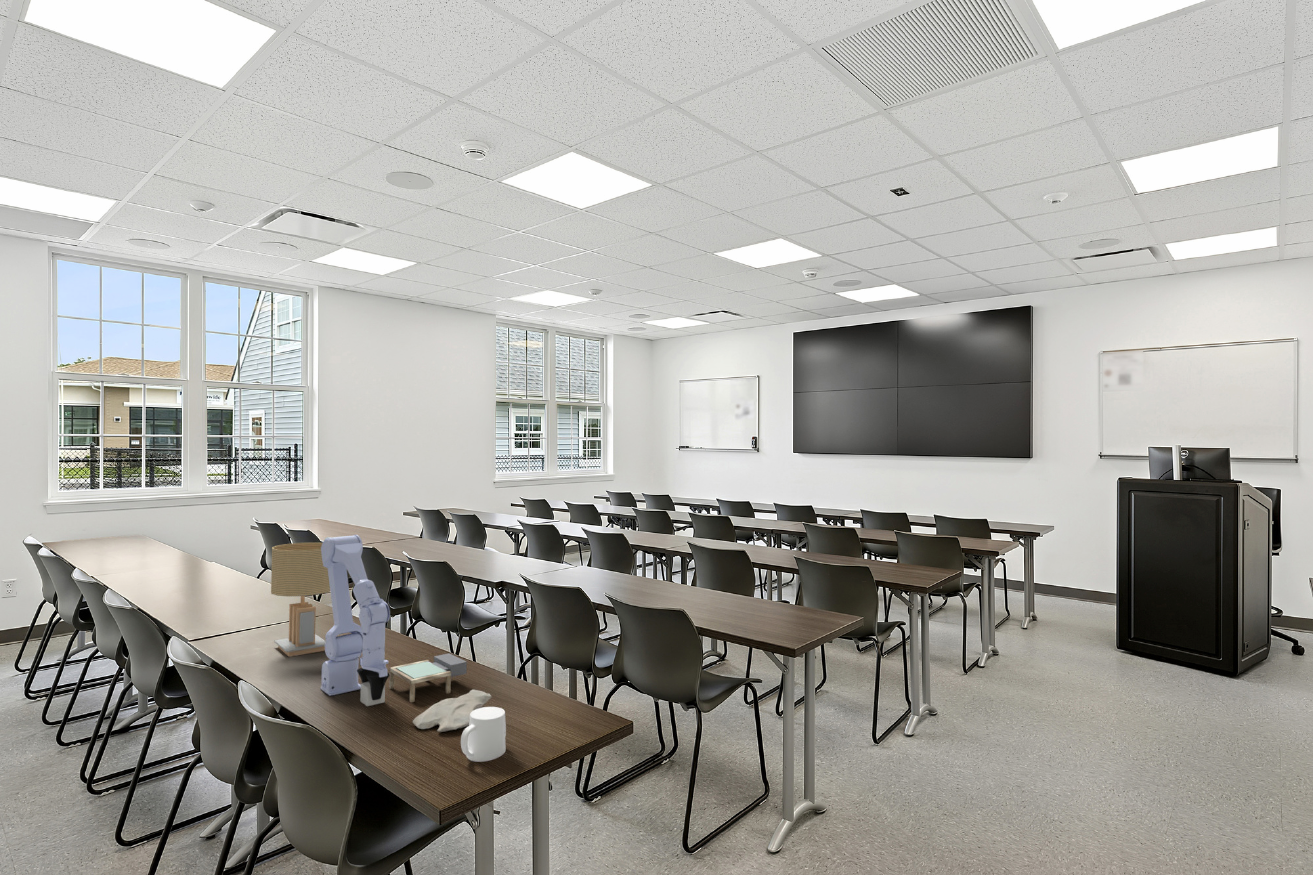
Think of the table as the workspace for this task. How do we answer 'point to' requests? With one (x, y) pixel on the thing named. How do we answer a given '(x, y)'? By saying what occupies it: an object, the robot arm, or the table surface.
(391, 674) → the trapdoor frame
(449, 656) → the trapdoor
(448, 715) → the rock
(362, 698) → the white cube
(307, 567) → the desk lamp
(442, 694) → the table surface
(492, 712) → the mug
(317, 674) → the table surface
